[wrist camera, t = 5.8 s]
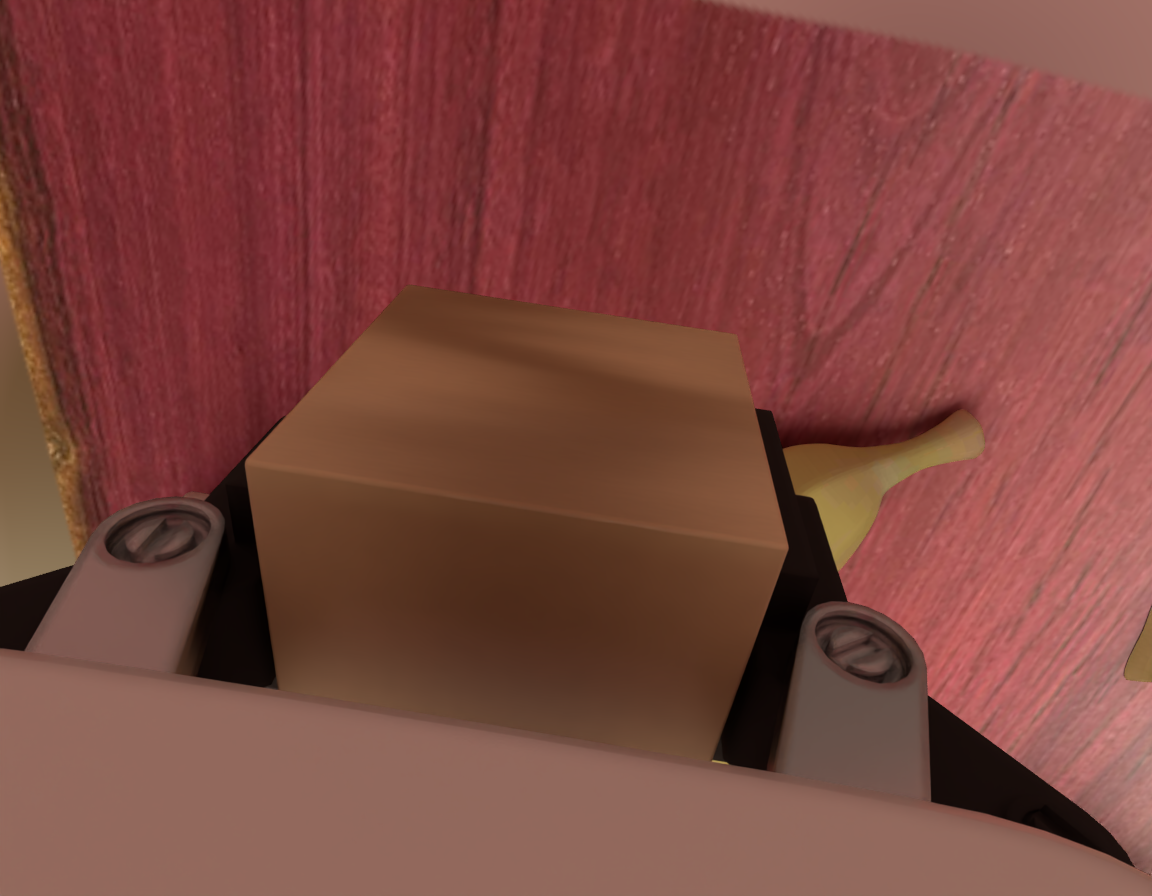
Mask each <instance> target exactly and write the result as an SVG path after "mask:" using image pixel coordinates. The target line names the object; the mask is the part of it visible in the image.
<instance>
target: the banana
mask: <svg viewBox="0 0 1152 896" xmlns="http://www.w3.org/2000/svg"><path fill="white" fill-rule="evenodd" d="M984 448H985V440H984V434H983V430H982V427H981V425H980V423H979V422H978V421H977V420H976V419H975V418H974V417H973V416H972V415H971V414H970V413H969V412H967V411H966V410H958V411H956V412H954V413H953V414H952V415H950V416H949V417H948V418H947V419H945V420H944V421H943V422H941V423H940V424H938V425H937V426H935V427H934V428H932V429H930V430H928V431H927V432H925V433H923V434H921V435H919V436H917V437H915V438H912V439H910V440H907V441H904V442H900V443H895V444H889V445H881V446H874V447H847V446H840V445H832V444H803V445H796V446H791V447H787V448H784V449H783V452H784V456H785V459H786V463H787V466H788V470H789V473H790V477H791V481H792V484H793V488H794V491H795V495H802V496H808V497H811V498H813V499H814V501H815V503H816V505H817V508H818V511H819V514H820V517H821V520H822V523H823V526H824V530H825V533H826V536H827V539H828V542H829V545H830V548H831V551H832V555H833V558H834V561H835V564H836V567H837V570H838V571H839V570H840V569H841V568H842V567H843V566H844V565H845V564H846V562H847V561H848V560H849V558H850V557H851V556H852V555H853V553H854V552H855V550H856V549H857V548H858V546H859V545H860V543H861V542H862V540H863V539H864V537H865V536H866V534H867V533H868V531H869V530H870V528H871V526H872V524H873V522H874V520H875V518H876V516H877V513H878V510H879V506H880V503H881V500H882V497H883V495H884V494H885V492H886V491H887V490H888V489H890V488H891V487H893V486H894V485H896V484H897V483H899V482H900V481H902V480H903V479H905V478H907V477H908V476H910V475H912V474H914V473H915V472H917V471H919V470H922V469H925V468H928V467H932V466H935V465H939V464H944V463H949V462H954V461H959V460H967V459H974V458H977V457H978V456H979V455H980V454H981V453H982V452H983V450H984ZM712 762H716V763H722V764H728V763H727V762H721V761H715V760H712ZM728 765H729V764H728Z"/></svg>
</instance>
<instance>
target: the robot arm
mask: <svg viewBox="0 0 1152 896" xmlns="http://www.w3.org/2000/svg"><path fill="white" fill-rule="evenodd" d="M755 411H756V415H757V419H758V423H759V427H760V432H761V436H762V440H763V444H764V448H765V452H766V456H767V460H768V464H769V468H770V472H771V476H772V481H773V485H774V489H775V493H776V497H777V501H778V505H779V509H780V513H781V517H782V521H783V526H784V530H785V534H786V538H787V542H788V547H789V549H788V552H787V555H786V557H785V560H784V563H783V566H782V568H781V571H780V574H779V577H778V579H777V582H776V585H775V588H774V591H773V593H772V596H771V599H770V602H769V604H768V607H767V610H766V613H765V615H764V618H763V621H762V624H761V627H760V629H759V632H758V635H757V638H756V640H755V643H754V646H753V649H752V651H751V654H750V657H749V660H748V663H747V665H746V668H745V671H744V674H743V676H742V679H741V682H740V685H739V687H738V690H737V693H736V696H735V698H734V701H733V704H732V707H731V710H730V712H729V715H728V718H727V721H726V723H725V726H724V729H723V732H722V734H721V737H720V740H719V743H718V746H717V748H716V751H715V754H714V757H713V759H712V760H715V761H721V762H727V763H728V764H729V765H728V764H722V763H716V762H710V761H705V760H699V759H693V758H687V757H681V756H675V755H669V754H663V753H657V752H652V751H646V750H640V749H634V748H628V747H622V746H616V745H610V744H605V743H599V742H593V741H587V740H581V739H575V738H569V737H563V736H557V735H551V734H545V733H539V732H533V731H527V730H521V729H514V728H508V727H502V726H496V725H490V724H484V723H478V722H472V721H466V720H460V719H454V718H448V717H442V716H436V715H429V714H423V713H417V712H411V711H405V710H399V709H393V708H386V707H380V706H374V705H368V704H362V703H356V702H350V701H344V700H337V699H331V698H325V697H319V696H312V695H306V694H300V693H293V692H287V691H281V690H275V689H268V688H265V687H270V688H276V689H278V685H277V679H276V672H275V665H274V658H273V652H272V645H271V638H270V631H269V625H268V618H267V611H266V605H265V598H264V591H263V584H262V578H261V571H260V564H259V557H258V551H257V544H256V537H255V531H254V524H253V517H252V510H251V504H250V497H249V490H248V483H247V477H246V470H245V462H246V459H247V458H248V457H249V456H250V455H251V454H252V453H253V452H254V450H255V449H256V448H257V447H258V446H259V445H260V444H261V443H262V442H263V441H264V440H265V439H266V437H267V436H268V435H269V434H270V433H271V432H272V431H273V430H274V429H275V428H276V427H277V425H278V424H279V423H280V422H281V421H282V420H283V419H284V418H285V417H286V416H284V417H283V418H281V419H280V420H279V421H278V422H277V423H276V424H275V425H274V426H273V427H272V428H271V429H270V430H269V431H268V432H267V433H266V435H265V436H264V437H263V438H262V439H261V440H260V441H259V442H258V443H257V444H256V445H255V446H254V447H253V449H252V450H251V451H250V452H249V453H248V454H247V455H246V456H245V457H244V458H243V459H242V460H241V461H240V463H239V464H238V465H237V466H236V467H235V468H234V469H233V470H232V471H231V472H230V473H229V474H228V475H227V477H226V478H225V479H224V480H223V481H222V482H221V483H220V484H219V485H218V486H217V487H216V488H215V489H214V490H213V492H212V493H211V494H210V495H209V496H208V497H207V498H206V499H205V500H204V501H203V500H199V499H196V498H189V497H176V496H175V497H165V498H155V499H151V500H147V501H143V502H139V503H136V504H133V505H131V506H129V507H126V508H124V509H122V510H119V511H117V512H116V513H114V514H113V515H111V516H110V517H108V518H107V519H106V520H104V521H103V522H102V523H101V524H100V525H99V526H98V527H97V528H96V530H95V531H94V532H93V533H92V535H91V537H90V538H89V540H88V542H87V543H86V545H85V547H84V549H83V550H82V552H81V554H80V556H79V557H78V559H77V561H76V562H75V564H74V565H72V566H69V567H66V568H62V569H59V570H56V571H52V572H49V573H46V574H43V575H39V576H36V577H32V578H29V579H25V580H22V581H19V582H16V583H13V584H9V585H5V586H2V587H0V896H1152V876H1150V875H1148V874H1146V873H1144V872H1142V871H1140V870H1138V869H1136V868H1134V866H1133V864H1132V862H1131V861H1130V859H1129V857H1128V855H1127V853H1126V852H1125V851H1124V849H1123V848H1122V847H1121V846H1120V845H1119V843H1118V842H1117V841H1116V840H1115V839H1114V837H1113V836H1112V835H1111V834H1110V833H1109V832H1108V830H1106V829H1105V828H1104V827H1103V826H1102V825H1101V824H1099V823H1098V822H1097V821H1096V820H1095V819H1094V818H1092V817H1091V816H1090V815H1089V814H1088V813H1087V812H1085V811H1084V810H1083V809H1081V808H1080V807H1079V806H1077V805H1076V804H1075V803H1073V802H1072V801H1070V800H1069V799H1068V798H1066V797H1065V796H1064V795H1062V794H1061V793H1060V792H1058V791H1057V790H1056V789H1054V788H1053V787H1052V786H1050V785H1049V784H1047V783H1046V782H1045V781H1043V780H1042V779H1041V778H1039V777H1038V776H1037V775H1035V774H1034V773H1033V772H1031V771H1030V770H1029V769H1027V768H1026V767H1024V766H1023V765H1022V764H1020V763H1019V762H1018V761H1016V760H1015V759H1014V758H1012V757H1011V756H1010V755H1008V754H1007V753H1006V752H1004V751H1003V750H1001V749H1000V748H999V747H997V746H996V745H995V744H993V743H992V742H991V741H989V740H988V739H987V738H985V737H984V736H982V735H981V734H980V733H978V732H977V731H976V730H974V729H973V728H972V727H970V726H969V725H968V724H966V723H965V722H964V721H962V720H961V719H959V718H958V717H957V716H955V715H954V714H953V713H951V712H950V711H949V710H947V709H946V708H945V707H943V706H942V705H941V704H939V703H938V702H936V701H935V700H934V699H932V698H931V697H930V696H928V691H927V667H926V663H925V659H924V655H923V652H922V651H921V649H920V647H919V646H918V644H917V643H916V641H915V639H914V638H913V637H912V636H911V635H910V634H909V633H908V632H907V631H906V630H905V629H904V628H903V627H902V626H901V625H899V624H898V623H896V622H895V621H893V620H892V619H890V618H889V617H887V616H886V615H884V614H882V613H880V612H878V611H875V610H873V609H871V608H869V607H866V606H863V605H858V604H854V603H850V602H848V601H847V598H846V595H845V592H844V589H843V586H842V583H841V580H840V576H839V573H838V570H837V567H836V564H835V561H834V558H833V555H832V551H831V548H830V545H829V542H828V539H827V536H826V533H825V530H824V526H823V523H822V520H821V517H820V514H819V511H818V508H817V505H816V503H815V501H814V499H813V498H811V497H808V496H802V495H795V491H794V488H793V484H792V481H791V477H790V473H789V470H788V466H787V463H786V459H785V456H784V452H783V449H782V445H781V442H780V438H779V435H778V431H777V428H776V424H775V421H774V417H773V414H772V412H771V411H768V410H761V409H755Z"/></svg>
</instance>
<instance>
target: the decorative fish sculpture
mask: <svg viewBox="0 0 1152 896" xmlns="http://www.w3.org/2000/svg"><path fill="white" fill-rule="evenodd" d="M1124 676H1125V678H1126V680H1132V681H1142V682H1152V608H1151V610H1150V613H1149V616H1148V619H1147V622H1146V624H1145V627H1144V629H1143V632H1142V634H1141V636H1140V638H1139V640H1138V642H1137V643H1136V645H1135V647H1134V649H1133V651H1132V653H1131V655H1130V657H1129V660H1128V662H1127V665H1126V667H1125V673H1124Z"/></svg>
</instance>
